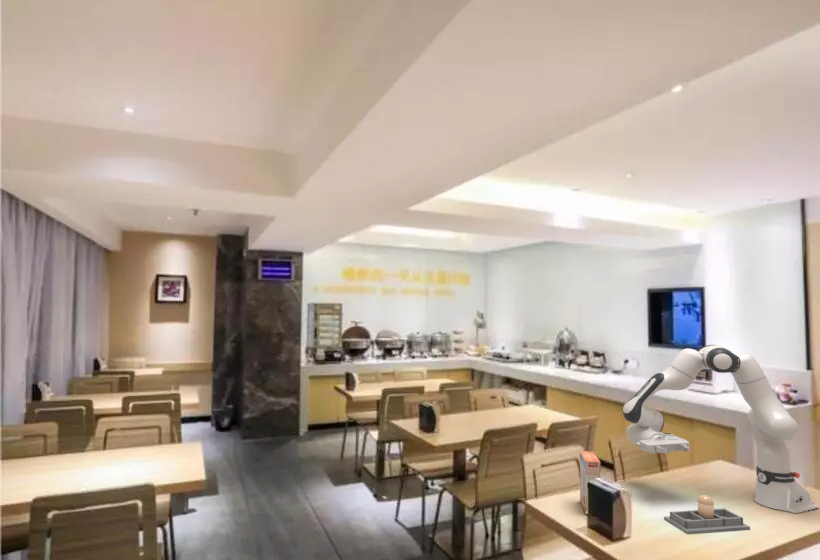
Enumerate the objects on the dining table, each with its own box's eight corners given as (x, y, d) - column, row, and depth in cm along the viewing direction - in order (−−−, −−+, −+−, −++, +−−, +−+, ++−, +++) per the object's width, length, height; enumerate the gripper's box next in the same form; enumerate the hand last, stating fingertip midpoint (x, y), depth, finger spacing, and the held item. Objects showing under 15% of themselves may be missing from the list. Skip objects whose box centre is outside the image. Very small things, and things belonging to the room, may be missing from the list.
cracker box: (601, 516, 182) (601, 461, 184) (585, 515, 184) (584, 460, 185) (595, 502, 196) (594, 451, 198) (579, 501, 197) (579, 450, 199)
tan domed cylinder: (706, 518, 180) (706, 492, 181) (717, 524, 175) (717, 497, 176) (694, 519, 179) (694, 493, 180) (705, 525, 174) (704, 498, 175)
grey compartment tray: (723, 515, 185) (723, 506, 185) (750, 529, 173) (749, 519, 174) (664, 519, 181) (663, 510, 181) (687, 534, 169) (687, 524, 169)
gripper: (632, 435, 205) (654, 444, 191) (674, 433, 208) (699, 441, 195) (633, 450, 204) (655, 460, 191) (675, 447, 208) (699, 457, 194)
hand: (677, 450), depth 193 cm, fingers open, 8 cm apart
